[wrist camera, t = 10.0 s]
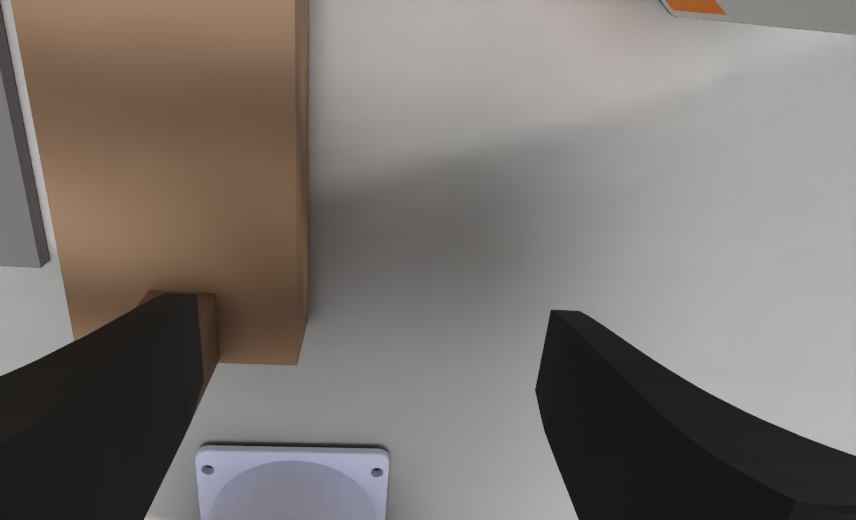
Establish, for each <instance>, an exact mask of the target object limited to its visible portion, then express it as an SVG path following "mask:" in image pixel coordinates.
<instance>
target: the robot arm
mask: <svg viewBox="0 0 856 520" xmlns="http://www.w3.org/2000/svg"><path fill="white" fill-rule="evenodd" d="M203 382H204V372H203V360H202V348H201V336H200V324H199V313H198V301H197V294H177V293H164V294H162V295H159V296H157V297H155V298H153V299H151V300H149V301H147V302H145V303H144V304H142V305H140V306H138V307H136V308H134V309H133V310H131V311H129V312H127V313H126V314H124V315H122V316H120V317H118V318H117V319H115V320H113V321H111V322H109V323H108V324H106V325H104V326H102V327H100V328H99V329H97V330H95V331H93V332H91V333H89V334H88V335H86V336H84V337H82V338H80V339H78V340H76V341H74V342H72V343H70V344H68V345H66V346H64V347H62V348H60V349H58V350H56V351H54V352H52V353H50V354H48V355H46V356H44V357H42V358H40V359H38V360H36V361H34V362H32V363H30V364H27V365H25V366H23V367H21V368H19V369H16V370H14V371H12V372H9V373H7V374H5V375H2V376H0V520H144V518H145V516H146V514H147V512H148V510H149V508H150V506H151V504H152V502H153V500H154V497H155V495H156V493H157V491H158V489H159V487H160V485H161V483H162V481H163V479H164V477H165V475H166V473H167V471H168V469H169V467H170V465H171V463H172V461H173V459H174V457H175V455H176V453H177V451H178V448H179V446H180V444H181V442H182V440H183V438H184V436H185V434H186V432H187V430H188V427H189V425H190V423H191V420H192V417H193V414H194V411H195V408H196V405H197V402H198V399H199V396H200V392H201V389H202V386H203ZM535 391H536V396H537V400H538V405H539V410H540V414H541V418H542V422H543V426H544V430H545V433H546V436H547V439H548V442H549V444H550V447H551V449H552V452H553V455H554V457H555V460H556V463H557V465H558V468H559V470H560V473H561V475H562V478H563V480H564V483H565V486H566V488H567V491H568V493H569V496H570V498H571V501H572V503H573V506H574V509H575V511H576V514H577V516H578V519H579V520H856V456H854V455H851V454H848V453H845V452H842V451H840V450H837V449H834V448H831V447H828V446H826V445H823V444H820V443H818V442H815V441H812V440H810V439H807V438H804V437H802V436H799V435H797V434H795V433H792V432H790V431H788V430H785V429H783V428H781V427H778V426H776V425H773V424H771V423H769V422H766V421H764V420H762V419H760V418H758V417H755V416H753V415H751V414H749V413H747V412H745V411H743V410H741V409H739V408H737V407H735V406H733V405H731V404H729V403H727V402H725V401H723V400H721V399H719V398H717V397H715V396H713V395H711V394H709V393H708V392H706V391H704V390H702V389H700V388H699V387H697V386H695V385H693V384H692V383H690V382H688V381H687V380H685V379H683V378H682V377H680V376H678V375H677V374H675V373H673V372H672V371H670V370H668V369H667V368H665V367H664V366H662V365H661V364H659V363H658V362H656V361H654V360H653V359H651V358H650V357H648V356H647V355H645V354H644V353H642V352H641V351H639V350H638V349H637V348H635V347H634V346H632V345H631V344H629V343H628V342H626V341H625V340H623V339H622V338H621V337H619V336H618V335H616V334H615V333H613V332H612V331H610V330H609V329H607V328H606V327H605V326H603V325H602V324H600V323H599V322H597V321H596V320H594V319H592V318H591V317H589V316H588V315H586V314H584V313H582V312H580V311H566V310H551V313H550V318H549V323H548V328H547V333H546V338H545V343H544V348H543V353H542V359H541V364H540V369H539V374H538V379H537V384H536V389H535ZM205 465H210V466H212V467H213V468H209V467H206V466H205ZM195 467H196V477H197V487H198V497H199V508H200V518H201V520H385V513H386V500H387V487H388V474H389V454H388V453H387V452H386V451H385V450H383V449H373V448H322V447H270V446H219V445H207V446H203V447H201V448H199V450H198V451H197V453H196V456H195ZM374 468H380V469H381V470H377V471H376V470H373V469H374Z"/></svg>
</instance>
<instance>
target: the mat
mask: <svg viewBox="0 0 856 520" xmlns="http://www.w3.org/2000/svg"><path fill="white" fill-rule="evenodd" d="M49 261H50V260H49V255H48V249H47V244H46V239H45V234H44V229H43V224H42V219H41V213H40V208H39V203H38V198H37V193H36V188H35V182H34V177H33V172H32V167H31V162H30V157H29V152H28V146H27V141H26V136H25V131H24V126H23V121H22V115H21V110H20V105H19V100H18V95H17V90H16V85H15V79H14V74H13V69H12V64H11V59H10V54H9V48H8V43H7V38H6V33H5V28H4V23H3V18H2V12H1V7H0V266H13V267H34V268H41V267H42V266H44V265H45V264H46V263H47V262H49Z"/></svg>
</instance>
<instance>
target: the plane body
mask: <svg viewBox="0 0 856 520" xmlns="http://www.w3.org/2000/svg"><path fill="white" fill-rule="evenodd" d="M11 4H12V9H13V15H14V20H15V26H16V31H17V36H18V42H19V47H20V52H21V58H22V63H23V68H24V74H25V79H26V84H27V90H28V95H29V101H30V106H31V111H32V117H33V122H34V127H35V133H36V138H37V143H38V149H39V154H40V159H41V165H42V170H43V176H44V181H45V186H46V192H47V197H48V202H49V208H50V213H51V218H52V224H53V229H54V234H55V240H56V245H57V251H58V256H59V261H60V267H61V272H62V277H63V283H64V288H65V293H66V299H67V304H68V309H69V315H70V320H71V326H72V331H73V336H74V341H76V340H78V339H80V338H82V337H84V336H86V335H88V334H89V333H91V332H93V331H95V330H97V329H99V328H100V327H102V326H104V325H106V324H108V323H109V322H111V321H113V320H115V319H117V318H118V317H120V316H122V315H124V314H126V313H127V312H129V311H131V310H133V309H134V308H136V307H138V306H140V305H142V304H144V303H145V302H147V301H149V300H151V299H153V298H155V297H157V296H159V295H162V294H164V293H177V294H197V301H198V313H199V324H200V336H201V348H202V360H203V372H204V382H203V386H202V389H201V392H200V396H199V399H198V402H197V405H196V408H195V411H194V414H195V412H196V410H197V407H198V405H199V403H200V401H201V398H202V396H203V394H204V392H205V390H206V387H207V385H208V383H209V381H210V379H211V376H212V374H213V372H214V370H215V368H216V365H217V363H243V364H273V365H297V363H298V359H299V355H300V351H301V346H302V342H303V338H304V334H305V329H306V325H307V321H308V31H309V0H11ZM194 414H193V416H194ZM192 418H193V417H192ZM191 421H192V420H191Z"/></svg>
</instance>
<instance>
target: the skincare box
mask: <svg viewBox="0 0 856 520" xmlns="http://www.w3.org/2000/svg"><path fill="white" fill-rule="evenodd" d="M661 1H662V3H663V4H664V5H665V7H666V8H667V10H668V11H669V12H670V13H671V15H673V16H676V17H686V18H695V19H704V20H714V21H725V22H734V23H743V24H754V25H762V26H772V27H782V28H791V29H802V30H813V31H823V32H833V33H841V34H849V35H856V0H661Z"/></svg>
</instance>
